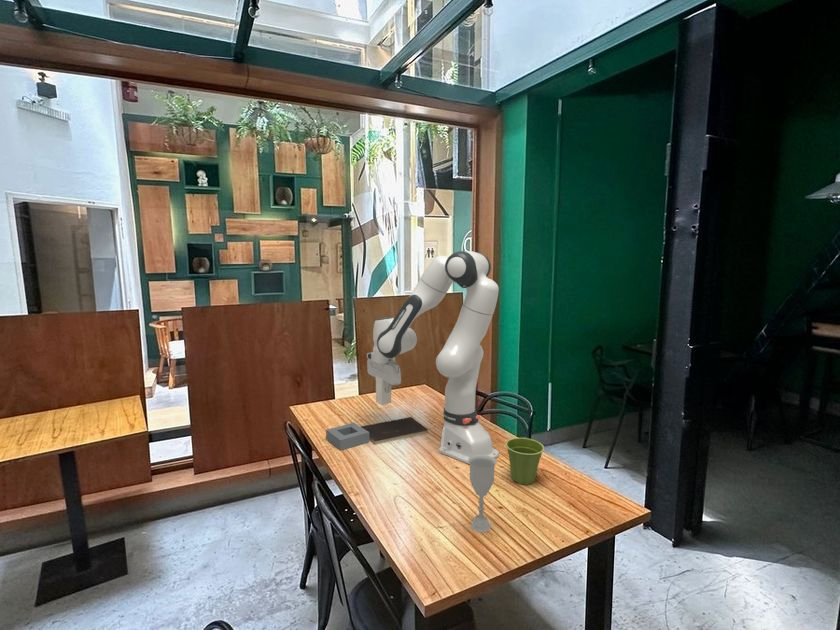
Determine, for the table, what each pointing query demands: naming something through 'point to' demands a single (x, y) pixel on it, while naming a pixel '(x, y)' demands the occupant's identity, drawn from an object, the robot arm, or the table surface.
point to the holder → (347, 436)
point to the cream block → (382, 392)
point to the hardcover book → (394, 430)
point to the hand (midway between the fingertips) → (383, 390)
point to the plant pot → (524, 459)
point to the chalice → (481, 486)
